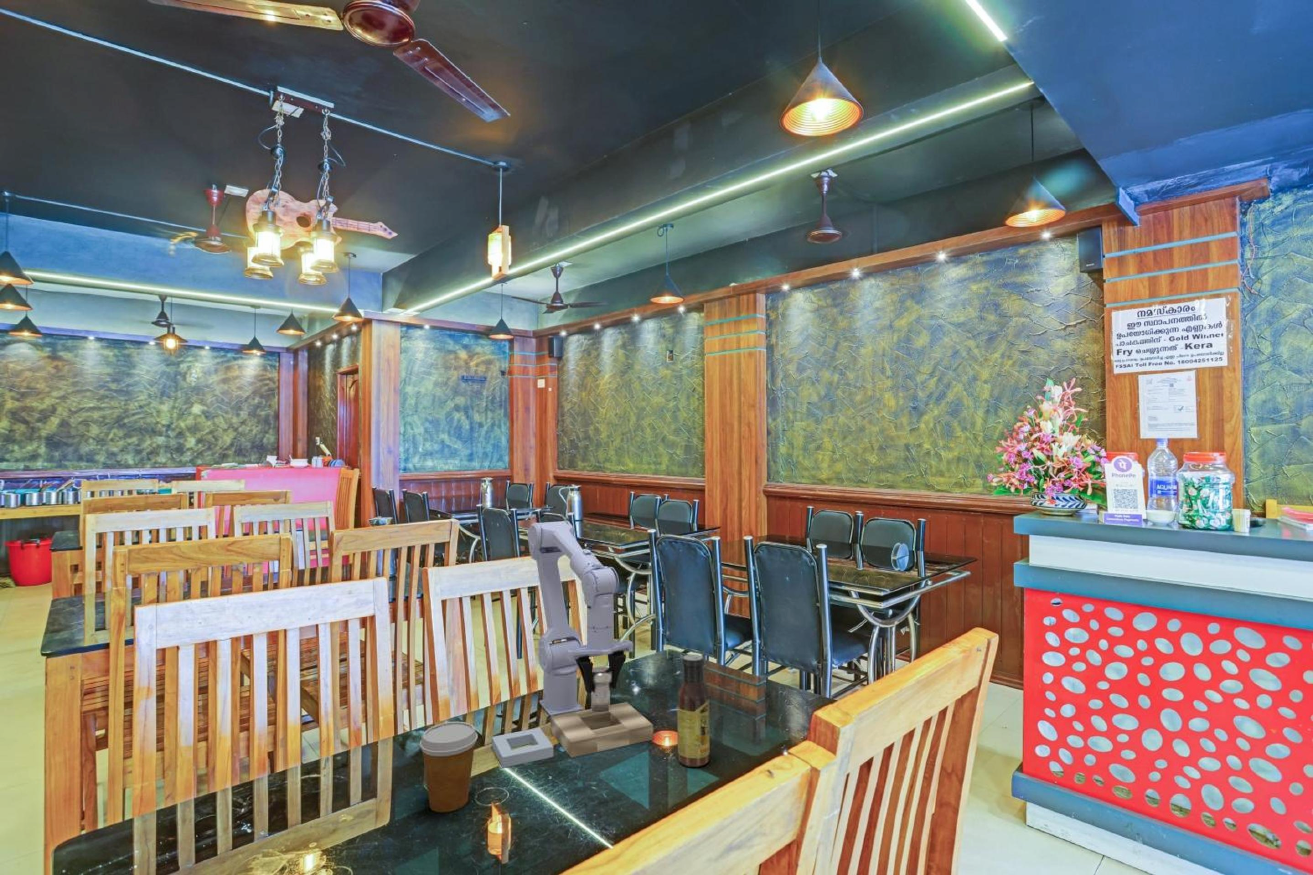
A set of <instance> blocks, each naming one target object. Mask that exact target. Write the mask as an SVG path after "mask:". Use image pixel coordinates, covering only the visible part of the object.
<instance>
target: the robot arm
mask: <svg viewBox="0 0 1313 875" xmlns="http://www.w3.org/2000/svg"><path fill="white" fill-rule="evenodd" d="M574 534H575V533H574V527H573V525H572V524H571V523H570V521H569V520H562V521H561V520H560V521H549V522H547V521H546V522H533V523H531V525H530V526H529V529H528V533H527V540H528V548H529V553H530V558H531V559H533V560H534V561H536V565H537V572H538V578H539V585H540V590H541V596H542V603H543V610H544V614H545V621H546V627H547V629H546V631H545V632H544V633H543V634H542V636H541V637H540V638H539V639H538V654H537V658H538V664H539V667H540V668H541V670H543V676H542V677H543V678H542V679H543V680H542V685H543V689H542V690H543V691H542V692H543V697H542V698H543V699H540V700H539V704H540V705H541V706H542V708H543V709H544V710H545V711H546V713H547V715H549V716H550V717H552V716H557V715H562V714H567V713H573V712H578V711H583V710H584V707H583V706H582V705H581V704H580V703H578V670H579V672H580V674H581V676H582V680H583V685H584V690H585V692H586V693H587V694H591V693H592V669H593V668H594V663H593V662H592V660H591V658H594V657H599V656H607V660H608V661H607V662H608V668H611V669H612V681H611V682H610V689H612V690H614V689H617V688H616V687H617V684H618V680H619V676H620V673H621V670H622V668H623V666H624V664H625V662H626V661H627V660H626V659H627V655H626V654H625V653H626V652H628V653H633V652H634V643H633V642H632V641H631V640H621V641H614V640H615V636H614V633H615V632H614V630H615V629H614V619H615V618H614V613H615V612H614V601H615V600H614V595H615V594H616V593H617V592H618V590H619V587H620V586H619V585H620V579H619V576H618V573H617V571H616V569H615V568H614V567H612V566H607V565H606V566H604V565H603V564H602V563H601V562H600V561H599V559H597V557H596V556H595V555H594V554H593V552H592V551H591V550H590V549H585V548H584V549H583V548H582V547H581V545H580V544H579V542H578V541H577V539H576V538H575V536H574ZM563 556H566V557H567V558H568V559H569V567H570V569H571V570H572V572H573V573H574V574H575V576H577V577H578V579H579V580H580V581H581V584H580V585H581V590H582V593H583V600H584V601H583V602H584V604H585V605H586V644H585V645H584V644H583V642H582V639H581V636H580V632H579V631H578V630H576V629H575V628H573V627H571V626H570V625H569V621H568V615H567V609H566V604H565V598H564V593H563V592H564V591H563V586H562V580H561V575H560V570H559V564H558V562H559V559H560V558H562V557H563Z"/></svg>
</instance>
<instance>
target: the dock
mask: <svg viewBox="0 0 1313 875" xmlns="http://www.w3.org/2000/svg"><path fill="white" fill-rule="evenodd" d="M550 732H551V733H552V735H553V736H554V737H555V739H556V740H557V741H558V742H559V744H560V745H561V747H562V748H563V749H564V750H565V752H566V753H567V755H568V756H569V757H570V758H576V757H581V756H585V755H589V754H595V753H599V752H603V751H608V750H612V749H616V748H617V749H618V748H621V747H626V746H630V745H634V744H638V743H643V742H649V741H653V740H654V724H652V722H650V721H649V720H648V719H647V718H646V717H645V716H643V715H642V714H641V713H640V712H639V711H638V710H636V709H635V708H634V707H633V706H632V705H631V704H629V703H628V702H627V701H625V702H620V703H615V704H610V709H609V710H608V711H605V712H594V711H592V710H591V708H589V709H583V710H581V711H575V712H570V713H565V714H560V715H554V716H550Z"/></svg>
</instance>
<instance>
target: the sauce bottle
mask: <svg viewBox="0 0 1313 875" xmlns="http://www.w3.org/2000/svg"><path fill="white" fill-rule="evenodd" d="M682 665H683V676H682V678H683V682H682V683H681V684H680V686H679V688H678V690H677V706H676V708H677V754H678V755H677V757H678V761H679V763H681V764H682V765H683V766H686V767H693V768H697V767H701V766H705V765H707V763H708V762H709V761H710V752H711V750H710V743H711V742H710V739H711V738H710V696H709V694H708V691H707V688H706V685H705V683H704V679H703V678H704V677H703V666H704V657H703V656H701V655H699V654H687V655H684V656H683V657H682Z"/></svg>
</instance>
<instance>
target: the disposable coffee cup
mask: <svg viewBox="0 0 1313 875" xmlns="http://www.w3.org/2000/svg"><path fill="white" fill-rule="evenodd" d="M478 737H479V736H478V733H477V732H476V727H475V726H474V725H473V724H471V723H469V722H465V721H448V722H443V723H439V724H436V725H433V726H430V728H427V729H426V730H425V731H424V732H423V735H422V736H421V739H420V742H419V747H420V749H421V751H422V757H423V763H424V769H425V771H424V772H425V779H426V785H427V786H426V787H427V795H428V796H427V797H428V804H429V808H430V810H432V811H434V812H436V813H449V812H453V811H456V810H459V809H461V808H463V807H464V806H465V805H467V803H468V801H469V793H470V787H471V786H470V785H471V777H472V768H473V761H474V754H475V744H476V743H477V740H478Z"/></svg>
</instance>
